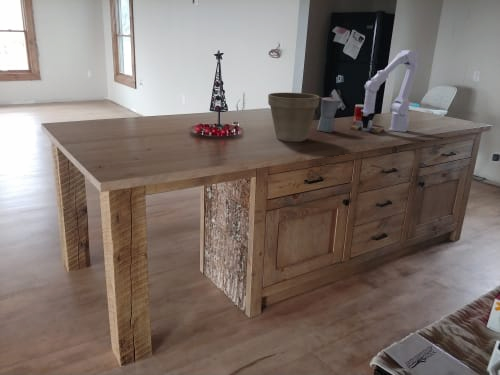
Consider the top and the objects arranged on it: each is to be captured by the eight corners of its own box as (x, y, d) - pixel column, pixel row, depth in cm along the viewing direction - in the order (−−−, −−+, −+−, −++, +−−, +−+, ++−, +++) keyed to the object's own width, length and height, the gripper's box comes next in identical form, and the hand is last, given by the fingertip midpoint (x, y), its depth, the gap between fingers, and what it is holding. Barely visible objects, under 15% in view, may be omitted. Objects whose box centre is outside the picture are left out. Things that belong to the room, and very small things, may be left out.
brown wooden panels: (383, 129, 257) (383, 127, 257) (379, 133, 248) (379, 130, 248) (355, 126, 264) (356, 124, 264) (350, 129, 255) (350, 127, 255)
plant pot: (258, 134, 231) (260, 91, 224) (301, 132, 240) (304, 91, 233) (278, 145, 209) (281, 98, 202) (324, 143, 218) (329, 98, 211)
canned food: (363, 125, 268) (365, 106, 265) (350, 123, 273) (353, 105, 269) (368, 123, 274) (370, 105, 271) (356, 121, 279) (358, 104, 275)
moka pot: (338, 133, 242) (342, 96, 235) (309, 131, 244) (313, 94, 238) (338, 130, 251) (342, 93, 244) (311, 128, 253) (314, 92, 247)
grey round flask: (372, 130, 256) (373, 120, 254) (369, 131, 251) (371, 121, 249) (356, 128, 260) (357, 118, 258) (354, 129, 255) (355, 119, 253)
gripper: (365, 100, 258) (362, 124, 262) (359, 103, 245) (356, 128, 250) (378, 102, 255) (374, 125, 259) (372, 104, 242) (368, 129, 247)
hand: (366, 127), depth 254 cm, fingers open, 7 cm apart
